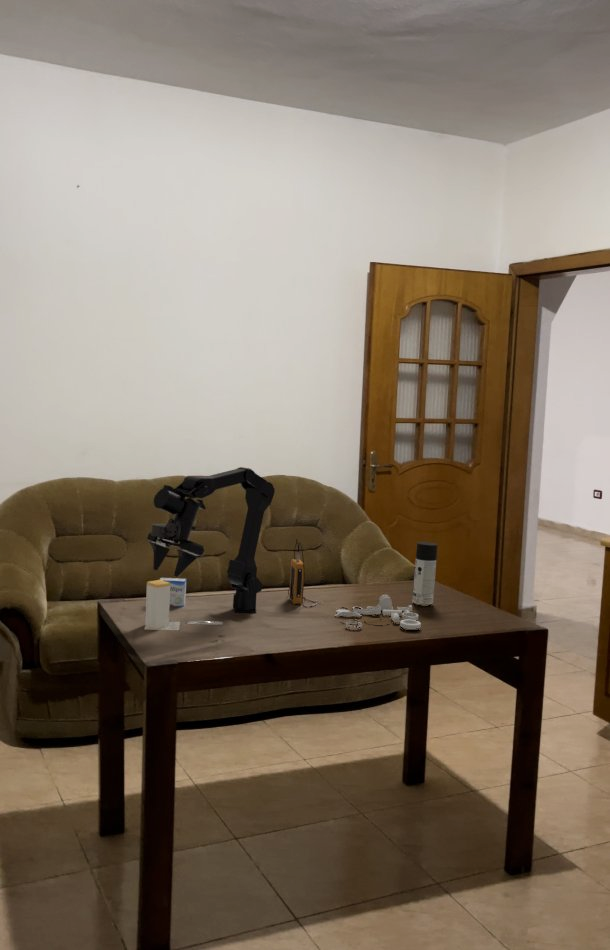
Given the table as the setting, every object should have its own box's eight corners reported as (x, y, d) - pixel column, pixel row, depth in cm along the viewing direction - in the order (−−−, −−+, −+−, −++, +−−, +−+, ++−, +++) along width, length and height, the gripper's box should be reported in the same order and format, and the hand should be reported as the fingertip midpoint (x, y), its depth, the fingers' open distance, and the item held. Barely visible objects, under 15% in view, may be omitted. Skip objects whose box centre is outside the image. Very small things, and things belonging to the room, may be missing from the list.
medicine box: (157, 608, 261) (158, 580, 261) (159, 604, 266) (160, 576, 265) (184, 609, 262) (185, 581, 261) (185, 606, 266) (186, 577, 265)
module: (158, 622, 244) (160, 579, 243) (168, 625, 241) (170, 582, 240) (145, 624, 241) (146, 581, 239) (155, 628, 238) (157, 585, 236)
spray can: (414, 600, 289) (418, 540, 287) (435, 603, 287) (439, 542, 284) (410, 604, 283) (414, 543, 280) (430, 607, 280) (435, 546, 278)
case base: (183, 624, 247) (183, 620, 246) (182, 634, 237) (182, 631, 237) (143, 623, 245) (143, 619, 245) (140, 633, 235) (140, 630, 235)
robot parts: (338, 632, 250) (339, 614, 249) (331, 609, 275) (332, 592, 274) (425, 635, 251) (426, 617, 251) (410, 611, 276) (411, 595, 275)
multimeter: (327, 607, 273) (331, 544, 271) (295, 608, 271) (299, 544, 269) (316, 596, 288) (320, 535, 286) (286, 596, 285) (289, 535, 283)
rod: (222, 626, 247) (222, 620, 246) (222, 628, 245) (222, 622, 245) (186, 625, 245) (186, 620, 245) (186, 627, 244) (186, 621, 244)
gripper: (142, 505, 245) (122, 559, 242) (184, 515, 232) (164, 572, 229) (171, 518, 253) (152, 569, 250) (213, 528, 240) (194, 582, 237)
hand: (165, 573), depth 241 cm, fingers open, 9 cm apart
